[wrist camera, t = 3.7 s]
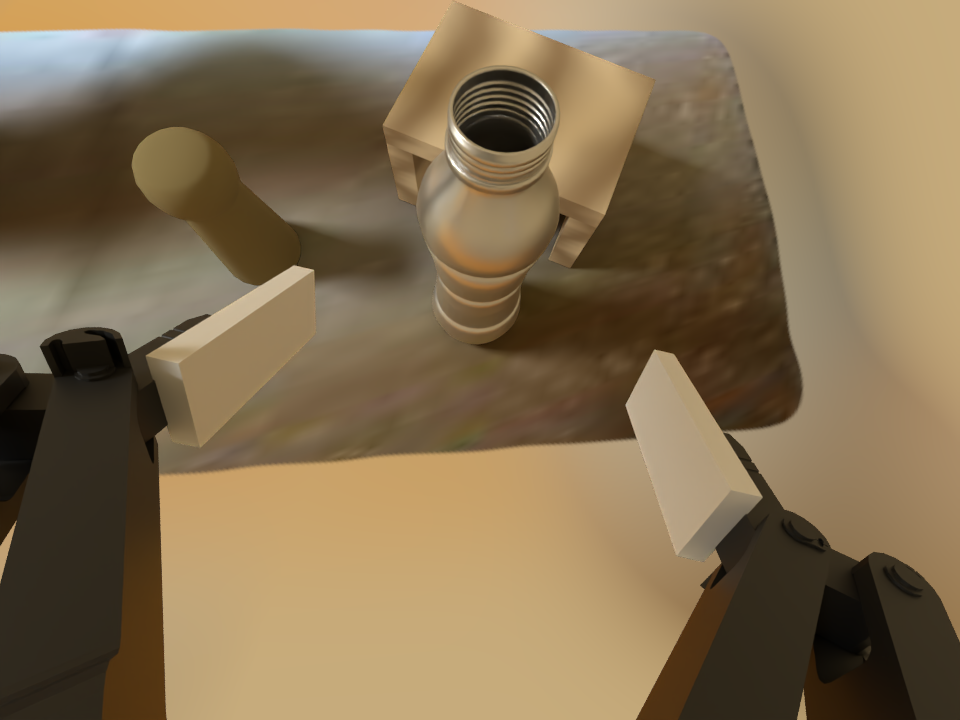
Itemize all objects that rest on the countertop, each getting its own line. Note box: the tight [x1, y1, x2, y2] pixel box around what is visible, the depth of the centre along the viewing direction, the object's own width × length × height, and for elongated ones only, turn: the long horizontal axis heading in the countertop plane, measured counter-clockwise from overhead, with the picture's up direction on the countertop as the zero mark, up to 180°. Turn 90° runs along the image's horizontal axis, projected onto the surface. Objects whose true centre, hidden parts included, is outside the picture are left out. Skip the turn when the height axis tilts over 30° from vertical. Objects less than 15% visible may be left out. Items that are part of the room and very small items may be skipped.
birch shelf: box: [382, 1, 655, 268], centre depth 31 cm, size 16×12×8 cm
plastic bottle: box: [416, 65, 560, 344], centre depth 22 cm, size 6×7×20 cm
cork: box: [132, 127, 301, 285], centre depth 27 cm, size 6×6×11 cm
